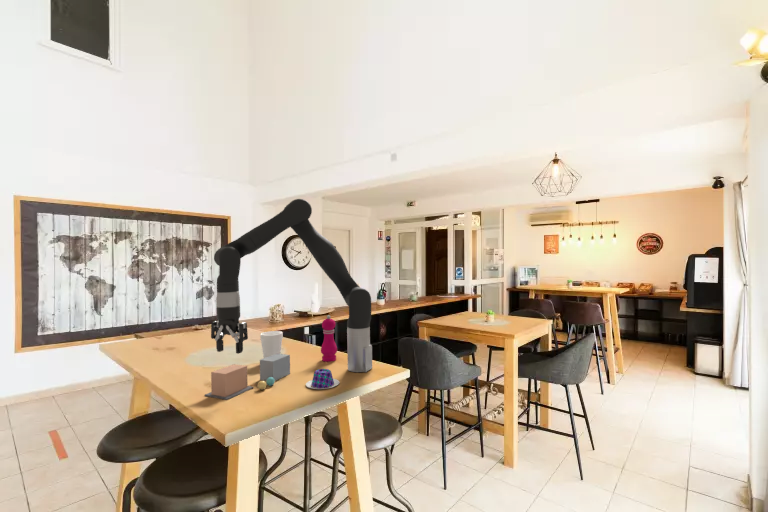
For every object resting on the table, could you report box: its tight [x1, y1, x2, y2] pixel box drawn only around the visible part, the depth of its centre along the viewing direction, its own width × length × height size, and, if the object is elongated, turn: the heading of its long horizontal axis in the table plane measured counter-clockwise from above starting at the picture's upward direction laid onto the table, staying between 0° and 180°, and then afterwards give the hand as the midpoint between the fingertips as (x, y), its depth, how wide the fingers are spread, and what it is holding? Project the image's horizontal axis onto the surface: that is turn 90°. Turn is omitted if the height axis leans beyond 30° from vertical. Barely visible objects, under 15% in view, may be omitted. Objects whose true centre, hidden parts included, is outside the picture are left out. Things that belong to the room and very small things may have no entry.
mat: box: [204, 385, 254, 401], centre depth 130 cm, size 10×12×1 cm
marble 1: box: [257, 380, 268, 391], centre depth 132 cm, size 3×3×3 cm
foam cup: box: [259, 330, 284, 359], centre depth 165 cm, size 10×9×13 cm
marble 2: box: [265, 377, 276, 387], centre depth 136 cm, size 3×3×3 cm
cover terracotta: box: [210, 363, 249, 397], centre depth 130 cm, size 6×10×8 cm, turn 157°
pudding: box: [305, 368, 340, 390], centre depth 136 cm, size 12×12×5 cm
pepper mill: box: [320, 314, 338, 363], centre depth 169 cm, size 7×7×20 cm
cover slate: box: [259, 353, 291, 382], centre depth 146 cm, size 6×10×8 cm, turn 157°
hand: (229, 352), depth 130 cm, fingers open, 8 cm apart
